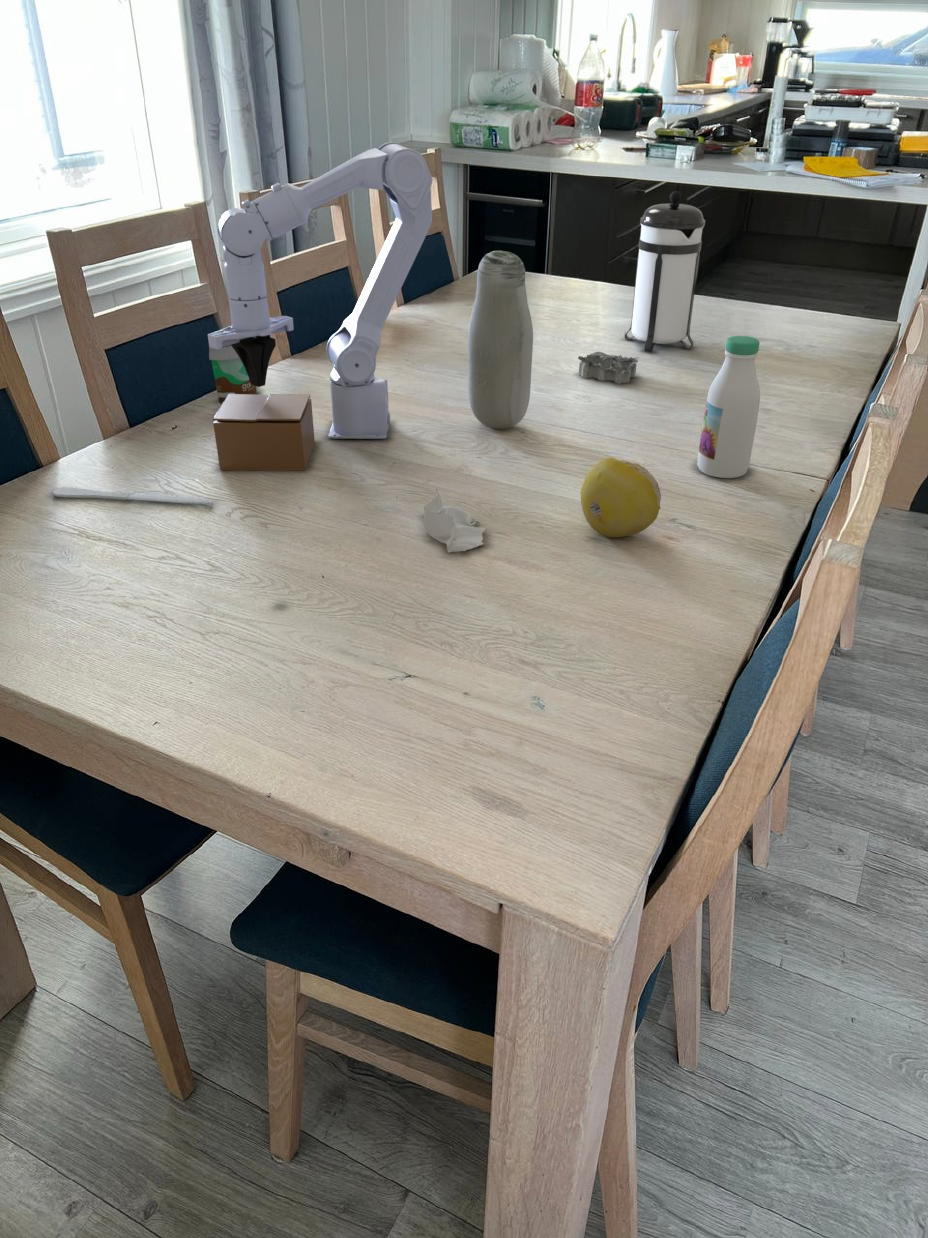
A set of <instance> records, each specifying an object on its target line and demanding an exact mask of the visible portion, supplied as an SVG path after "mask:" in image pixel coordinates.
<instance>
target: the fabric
mask: <svg viewBox="0 0 928 1238" xmlns="http://www.w3.org/2000/svg"><path fill="white" fill-rule="evenodd" d="M435 492H436V495H435V497H433V498H431V500H430V501H429V502H428V503H427V504H424V506H423V527H424V530H425V531H426V533H427V535H429V536H430V537H431V538H433V539H435V540H436V541H438V542H439V543H442V544H445V545H446V551H447V553H449V554H450V553H451V552H452V553H453V552H456V553H457V552H466V551H468V550H473V549H475V548H477V547H480V546H482V545H484V542H483V540H484V537H483V533H484V532H485V531H486V528H485V527H479V526H478V527H477V526H475V525H476V524H480V522H479V520H476V521H474V519H473V517H472V516H471V515H470V514H469V513H468V512H466V511H465V510H463V508H460V507H457V506H450V505H445V506H444V507H443V502H442V497H441V496H440V493H439V492H438V488H435Z"/></svg>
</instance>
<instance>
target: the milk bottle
mask: <svg viewBox="0 0 928 1238" xmlns="http://www.w3.org/2000/svg"><path fill="white" fill-rule="evenodd" d="M759 349H760V340H759V339H758V338H756V337H753V336H748V335H732V336H729V337H728V338H726V342H725V350H724V354H725V358H724V361H723V364H722V365H721V368H720V370H719V371H718V373H717V375H715V377H714V379H713V381H712V383H711V385H710V387H709V390H708V393H707V398H706V402H705V408H704V414H703V421H702V427H701V433H700V440H699V447H698V453H697V460H696V466H697V469H698V470H699V471H700V472H701V473H703V474H705V475H708V476H711V477H714V478H720V479H735V478H740V477H743V476H744V475H745V474H746V473H747V472H748V471H749V467H750V463H751V457H752V451H753V447H754V446H753V445H754V440H755V435H756V430H757V423H758V416H759V410H760V405H761V387H760V383H759V379H758V376H757V372H756V371H757V370H756V358H757V357H758V352H759Z"/></svg>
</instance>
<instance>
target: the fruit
mask: <svg viewBox="0 0 928 1238" xmlns="http://www.w3.org/2000/svg"><path fill="white" fill-rule="evenodd" d="M585 475H586V476H585V477H584V480H583V482H582V485H581V489H580V505H581V510H582V512H583V517H584V518H585V520H586V522H587V523H588V525H589V526H590V527H591V528H592V530H593V531H595V532H596V533H597V534H599V535H601V536H604V537H607V538H624V537H629V536H633V535H636V534H639V533H642V532H643V531H644V530H646V529H648V528H649V527H650V526H651V525H652V524H653V523H654V522H655V521H656V520H657V518H658V516H659V511H660V510H661V502H662V501H661V500H662V493H661V489H660V486H659V483H658V481H657V480H656V479H655V477H654V476H653V474H652V473H651V472H649V470H648V469H647V468H645V467H644V466H642V465H641V464H639V463H635V462H631V461H627V460H619V459H617V458H615V457H607V458H604V459H602V460H599V461H598V462H596V464H594V465H593V466H592V467H591V468H590V470H589V471H588V472H587V474H585Z"/></svg>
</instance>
